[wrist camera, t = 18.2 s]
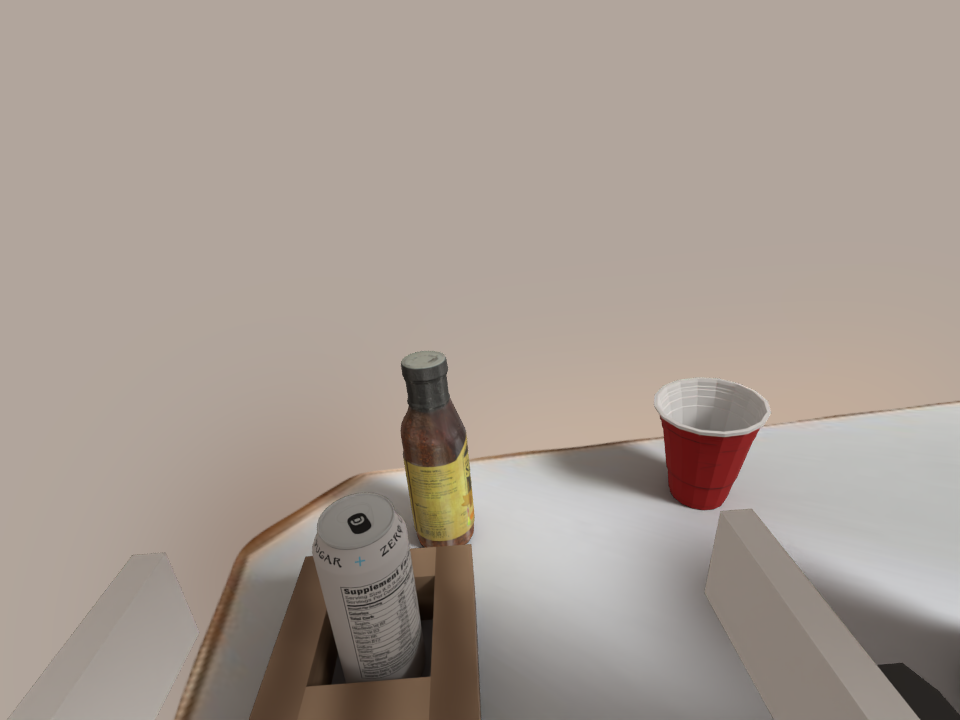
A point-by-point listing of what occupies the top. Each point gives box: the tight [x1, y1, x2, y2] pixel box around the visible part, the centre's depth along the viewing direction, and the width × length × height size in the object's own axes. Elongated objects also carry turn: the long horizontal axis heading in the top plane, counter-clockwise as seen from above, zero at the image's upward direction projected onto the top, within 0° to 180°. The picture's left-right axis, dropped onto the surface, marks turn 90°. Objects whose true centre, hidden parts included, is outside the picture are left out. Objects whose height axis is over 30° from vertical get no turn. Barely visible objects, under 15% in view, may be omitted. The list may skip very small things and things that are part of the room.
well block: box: [249, 544, 481, 720], centre depth 37 cm, size 14×14×6 cm
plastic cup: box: [654, 378, 771, 510], centre depth 52 cm, size 11×11×12 cm
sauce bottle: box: [401, 351, 475, 548], centre depth 47 cm, size 6×6×20 cm
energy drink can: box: [312, 492, 425, 683], centre depth 34 cm, size 6×6×15 cm
